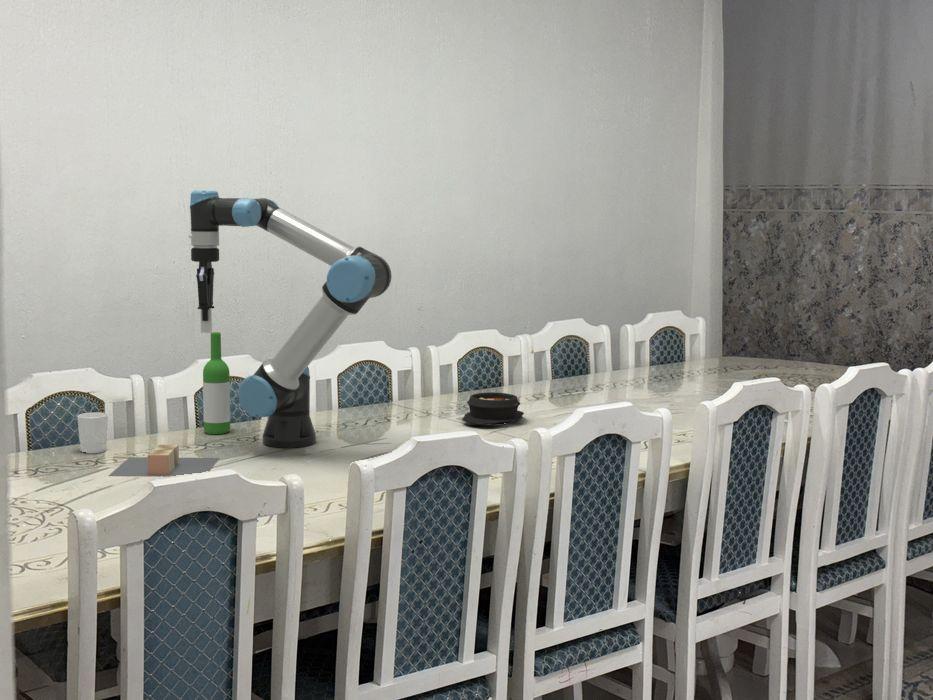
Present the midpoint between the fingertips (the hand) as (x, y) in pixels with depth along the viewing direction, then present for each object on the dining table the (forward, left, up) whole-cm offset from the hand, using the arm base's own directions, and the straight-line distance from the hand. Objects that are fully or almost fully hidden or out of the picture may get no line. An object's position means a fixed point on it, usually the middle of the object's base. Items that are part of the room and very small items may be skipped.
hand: (206, 332), depth 300 cm
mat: (+6, +25, -32) cm, 41 cm away
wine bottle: (+1, -19, -33) cm, 38 cm away
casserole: (-83, -38, -33) cm, 97 cm away
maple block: (+6, +22, -30) cm, 37 cm away
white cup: (+30, +6, -33) cm, 45 cm away
